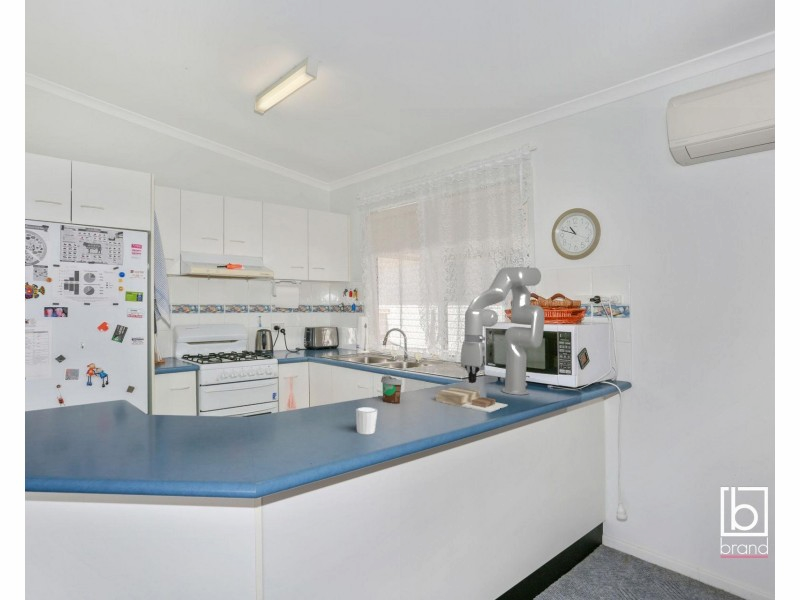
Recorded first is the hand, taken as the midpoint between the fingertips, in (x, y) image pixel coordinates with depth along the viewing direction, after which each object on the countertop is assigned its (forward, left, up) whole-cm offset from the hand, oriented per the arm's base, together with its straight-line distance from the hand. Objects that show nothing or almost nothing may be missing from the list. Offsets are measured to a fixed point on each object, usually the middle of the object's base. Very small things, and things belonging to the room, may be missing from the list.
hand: (472, 382), depth 185 cm
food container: (+25, -25, -9) cm, 36 cm away
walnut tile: (+1, +6, -7) cm, 9 cm away
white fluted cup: (+62, -3, -9) cm, 62 cm away
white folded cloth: (+1, +7, -9) cm, 11 cm away
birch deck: (+1, -6, -9) cm, 11 cm away
